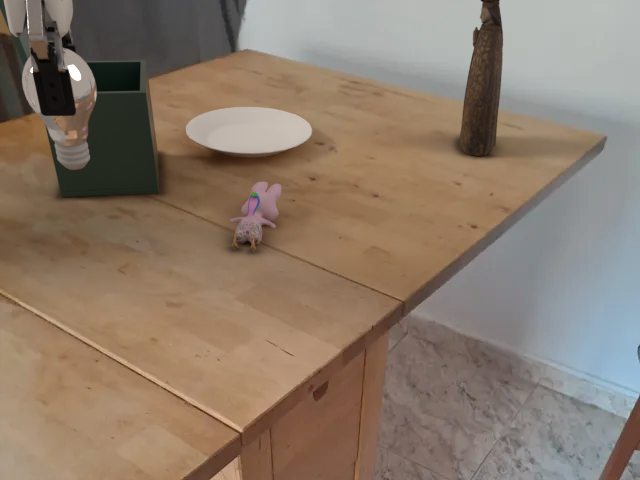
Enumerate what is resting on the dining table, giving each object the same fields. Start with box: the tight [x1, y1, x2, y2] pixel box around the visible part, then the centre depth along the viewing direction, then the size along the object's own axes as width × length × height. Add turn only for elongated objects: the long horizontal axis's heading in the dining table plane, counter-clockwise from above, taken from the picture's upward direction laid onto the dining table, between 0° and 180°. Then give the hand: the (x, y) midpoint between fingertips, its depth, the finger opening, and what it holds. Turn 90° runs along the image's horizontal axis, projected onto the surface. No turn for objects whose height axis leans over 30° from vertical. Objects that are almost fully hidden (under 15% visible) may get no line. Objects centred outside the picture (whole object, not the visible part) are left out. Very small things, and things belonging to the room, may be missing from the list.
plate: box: [185, 106, 313, 159], centre depth 114 cm, size 21×21×2 cm
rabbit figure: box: [229, 181, 283, 253], centre depth 91 cm, size 6×6×15 cm
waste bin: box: [44, 59, 160, 198], centre depth 99 cm, size 14×15×14 cm
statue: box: [459, 0, 504, 157], centre depth 109 cm, size 9×8×25 cm
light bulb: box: [21, 46, 97, 172], centre depth 70 cm, size 7×7×12 cm
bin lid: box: [0, 0, 30, 67], centre depth 88 cm, size 14×15×5 cm
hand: (62, 99), depth 69 cm, fingers closed on light bulb, 7 cm apart
